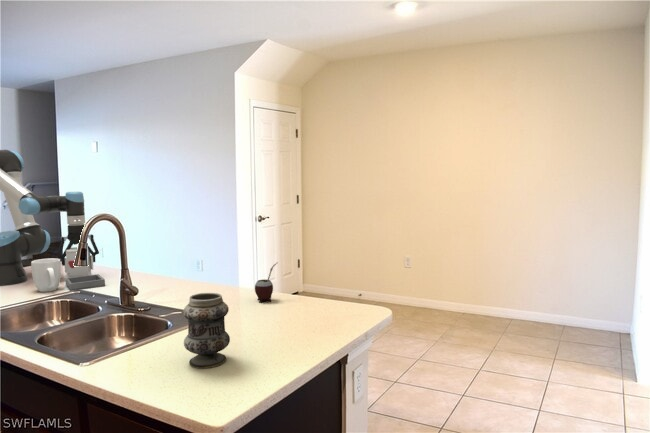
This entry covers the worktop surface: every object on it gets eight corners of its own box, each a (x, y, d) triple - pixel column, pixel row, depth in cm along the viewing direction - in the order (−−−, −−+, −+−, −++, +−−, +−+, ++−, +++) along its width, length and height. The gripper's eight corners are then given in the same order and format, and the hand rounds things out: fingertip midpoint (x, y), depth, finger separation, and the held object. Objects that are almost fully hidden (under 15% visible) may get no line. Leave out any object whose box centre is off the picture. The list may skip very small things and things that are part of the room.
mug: (68, 291, 207) (66, 261, 206) (39, 296, 200) (37, 265, 199) (58, 285, 218) (56, 257, 217) (30, 290, 211) (28, 260, 209)
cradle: (65, 284, 220) (65, 278, 220) (99, 280, 228) (98, 274, 228) (70, 290, 209) (69, 284, 208) (105, 286, 217) (104, 279, 216)
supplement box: (67, 282, 225) (64, 250, 223) (71, 278, 234) (69, 247, 232) (88, 280, 227) (86, 249, 226) (92, 276, 236) (90, 246, 235)
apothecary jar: (233, 352, 137) (231, 289, 135) (226, 369, 125) (224, 301, 123) (190, 353, 136) (188, 290, 135) (179, 371, 124) (176, 302, 123)
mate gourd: (251, 302, 188) (250, 264, 187) (263, 297, 195) (262, 260, 194) (267, 304, 185) (266, 265, 183) (278, 299, 192) (278, 262, 190)
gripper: (49, 227, 218) (52, 275, 220) (104, 223, 231) (106, 268, 234) (47, 225, 224) (50, 272, 227) (101, 222, 238) (103, 266, 240)
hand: (79, 270), depth 230 cm, fingers closed on supplement box, 10 cm apart
